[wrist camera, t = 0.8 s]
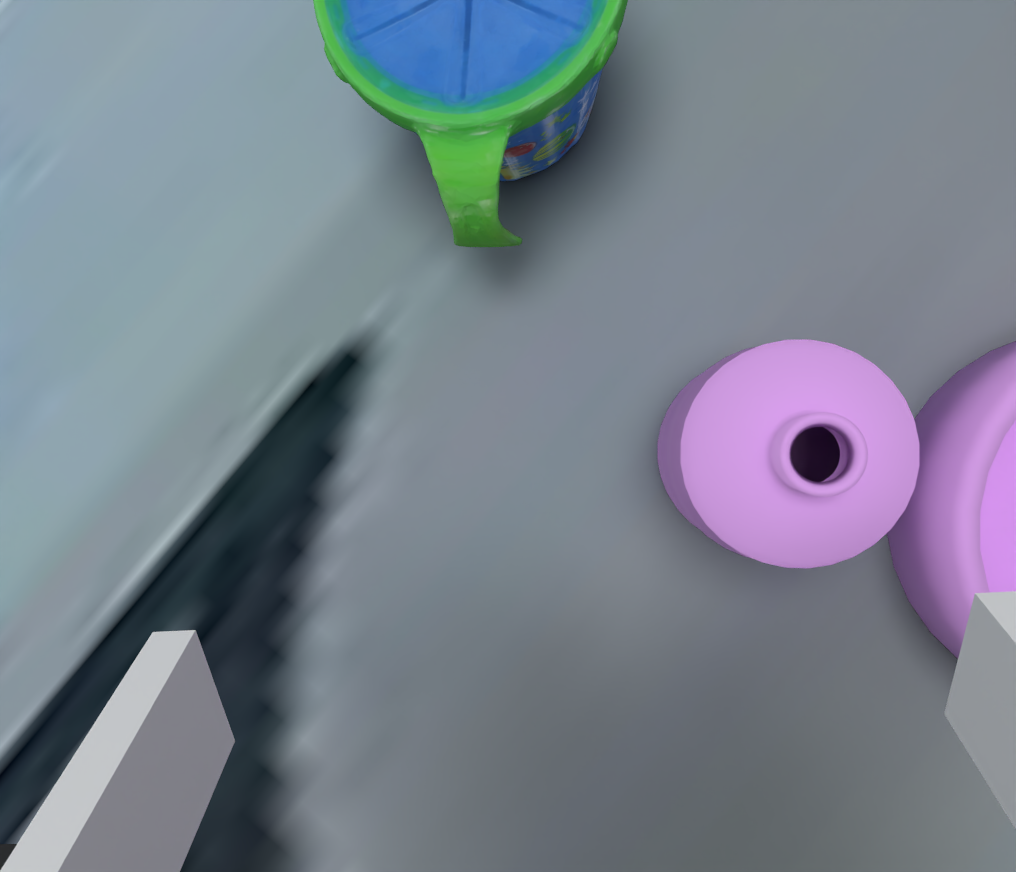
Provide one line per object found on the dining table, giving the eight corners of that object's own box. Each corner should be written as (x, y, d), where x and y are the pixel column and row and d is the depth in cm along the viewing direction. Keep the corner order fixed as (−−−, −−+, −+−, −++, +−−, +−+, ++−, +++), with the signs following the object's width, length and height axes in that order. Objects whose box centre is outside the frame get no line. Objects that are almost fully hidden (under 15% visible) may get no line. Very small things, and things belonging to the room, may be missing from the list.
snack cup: (602, 288, 33) (594, 218, 23) (376, 263, 35) (276, 188, 25) (652, -63, 33) (665, -284, 23) (423, -71, 35) (342, -282, 25)
